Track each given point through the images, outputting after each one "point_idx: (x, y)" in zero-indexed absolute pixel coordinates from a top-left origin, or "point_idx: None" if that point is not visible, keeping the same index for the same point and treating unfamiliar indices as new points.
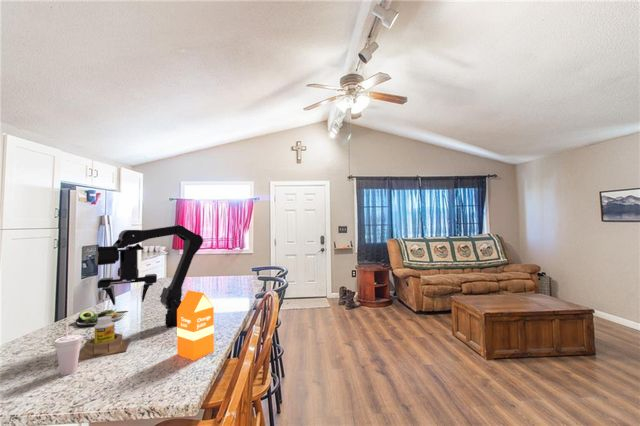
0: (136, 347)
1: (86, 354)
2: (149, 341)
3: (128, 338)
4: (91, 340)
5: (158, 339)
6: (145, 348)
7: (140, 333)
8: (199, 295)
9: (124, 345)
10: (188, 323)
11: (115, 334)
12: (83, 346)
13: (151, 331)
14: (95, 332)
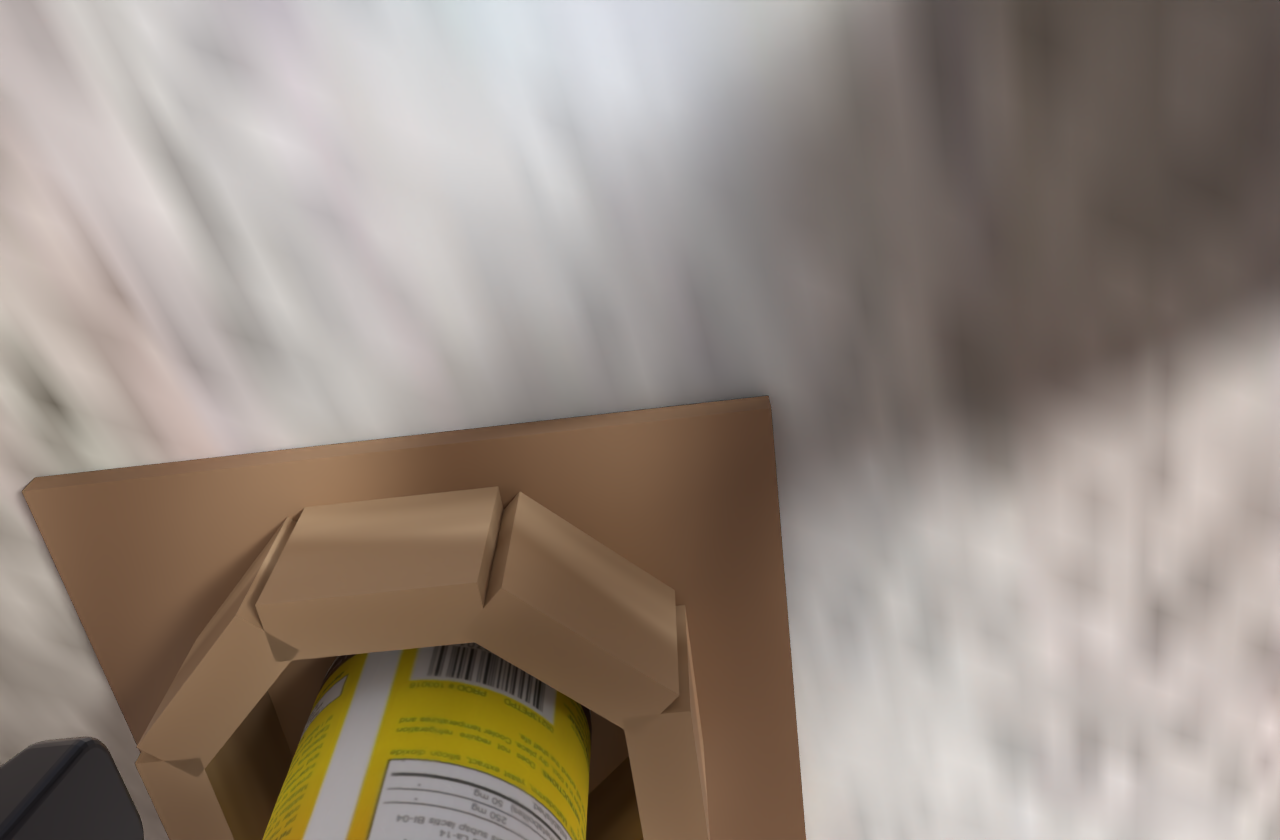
0: (926, 761)
1: None
2: (1106, 605)
3: (736, 421)
4: (210, 762)
5: (1253, 570)
6: (1053, 829)
7: (911, 81)
8: None
9: (747, 710)
10: None
11: (551, 666)
12: (52, 533)
13: (1151, 28)
14: None
